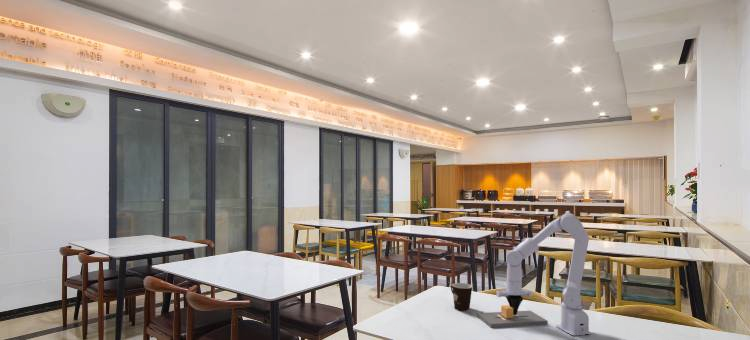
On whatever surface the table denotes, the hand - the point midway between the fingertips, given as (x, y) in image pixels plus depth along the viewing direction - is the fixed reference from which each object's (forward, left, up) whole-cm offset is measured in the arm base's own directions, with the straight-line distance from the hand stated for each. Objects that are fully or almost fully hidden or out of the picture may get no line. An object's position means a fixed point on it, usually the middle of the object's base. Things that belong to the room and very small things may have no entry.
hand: (513, 313), depth 157 cm
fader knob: (0, +3, -1) cm, 3 cm away
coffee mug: (+18, +15, -3) cm, 24 cm away
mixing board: (0, +1, -3) cm, 3 cm away
